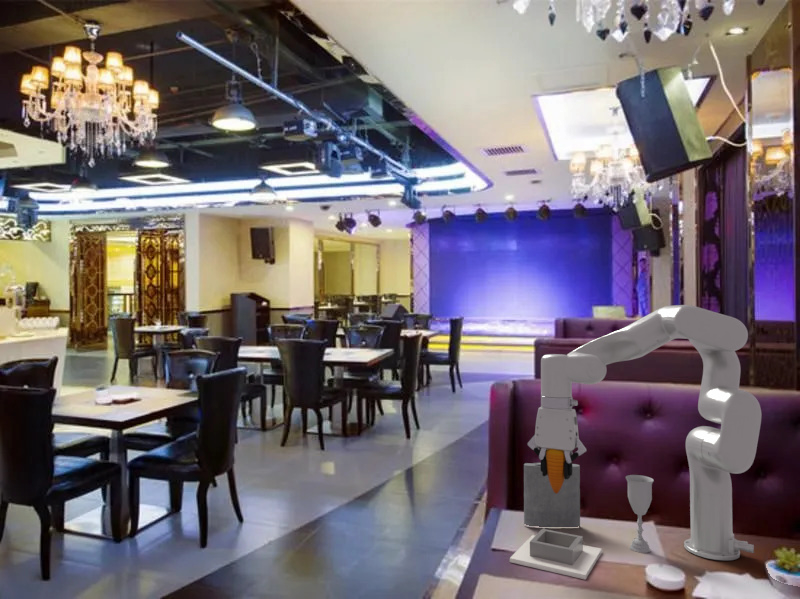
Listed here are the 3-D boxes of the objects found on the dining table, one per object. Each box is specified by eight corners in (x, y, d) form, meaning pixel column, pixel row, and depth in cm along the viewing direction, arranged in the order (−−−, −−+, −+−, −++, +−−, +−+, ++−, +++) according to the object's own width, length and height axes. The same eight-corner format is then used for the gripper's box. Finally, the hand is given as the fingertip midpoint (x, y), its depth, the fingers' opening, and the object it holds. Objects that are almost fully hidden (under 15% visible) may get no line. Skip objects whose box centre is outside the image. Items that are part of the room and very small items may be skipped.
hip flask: (578, 524, 165) (577, 455, 166) (582, 529, 161) (581, 458, 162) (523, 523, 166) (523, 454, 166) (525, 528, 162) (525, 457, 162)
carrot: (566, 497, 139) (566, 435, 140) (545, 495, 141) (545, 434, 141) (567, 491, 144) (567, 432, 144) (546, 489, 145) (546, 430, 146)
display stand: (601, 552, 145) (601, 534, 145) (585, 579, 129) (585, 559, 130) (532, 538, 154) (532, 521, 154) (509, 562, 139) (509, 543, 139)
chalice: (657, 555, 143) (656, 483, 144) (628, 553, 145) (628, 481, 145) (650, 544, 150) (650, 475, 151) (623, 542, 152) (623, 474, 153)
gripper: (594, 404, 142) (594, 478, 141) (528, 399, 151) (528, 468, 150) (587, 408, 136) (587, 485, 135) (518, 402, 144) (518, 475, 144)
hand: (556, 475), depth 143 cm, fingers closed on carrot, 4 cm apart
